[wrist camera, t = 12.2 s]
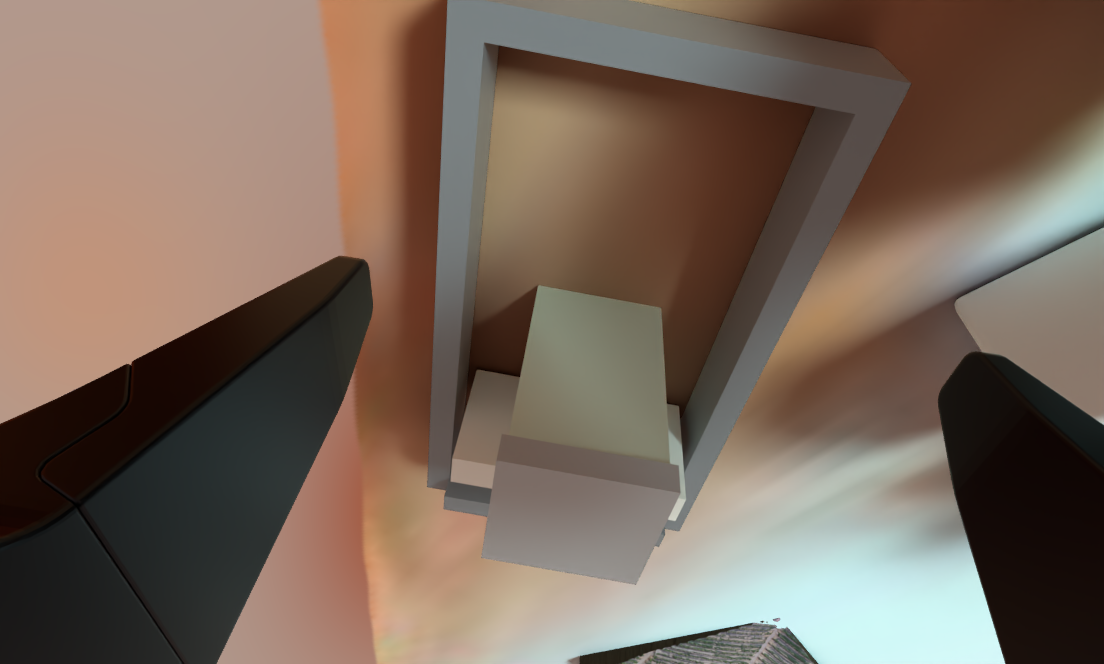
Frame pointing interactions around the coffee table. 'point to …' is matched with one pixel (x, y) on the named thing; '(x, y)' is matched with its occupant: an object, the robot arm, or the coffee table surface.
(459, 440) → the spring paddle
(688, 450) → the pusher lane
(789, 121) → the coffee table surface
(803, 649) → the terrain model
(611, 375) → the sage jar
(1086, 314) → the medicine bottle
